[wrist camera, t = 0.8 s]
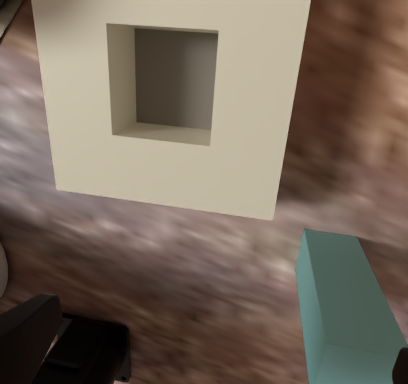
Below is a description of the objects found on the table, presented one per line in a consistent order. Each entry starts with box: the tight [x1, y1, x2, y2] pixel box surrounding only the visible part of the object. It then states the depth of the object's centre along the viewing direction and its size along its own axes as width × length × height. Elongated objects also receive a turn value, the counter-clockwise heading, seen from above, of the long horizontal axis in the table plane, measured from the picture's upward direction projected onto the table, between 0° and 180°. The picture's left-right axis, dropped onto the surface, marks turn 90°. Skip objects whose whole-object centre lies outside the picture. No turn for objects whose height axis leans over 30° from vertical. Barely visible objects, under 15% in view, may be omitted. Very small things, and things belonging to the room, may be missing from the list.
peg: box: [295, 229, 408, 384], centre depth 17 cm, size 3×3×9 cm
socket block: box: [31, 0, 311, 221], centre depth 17 cm, size 12×12×4 cm
